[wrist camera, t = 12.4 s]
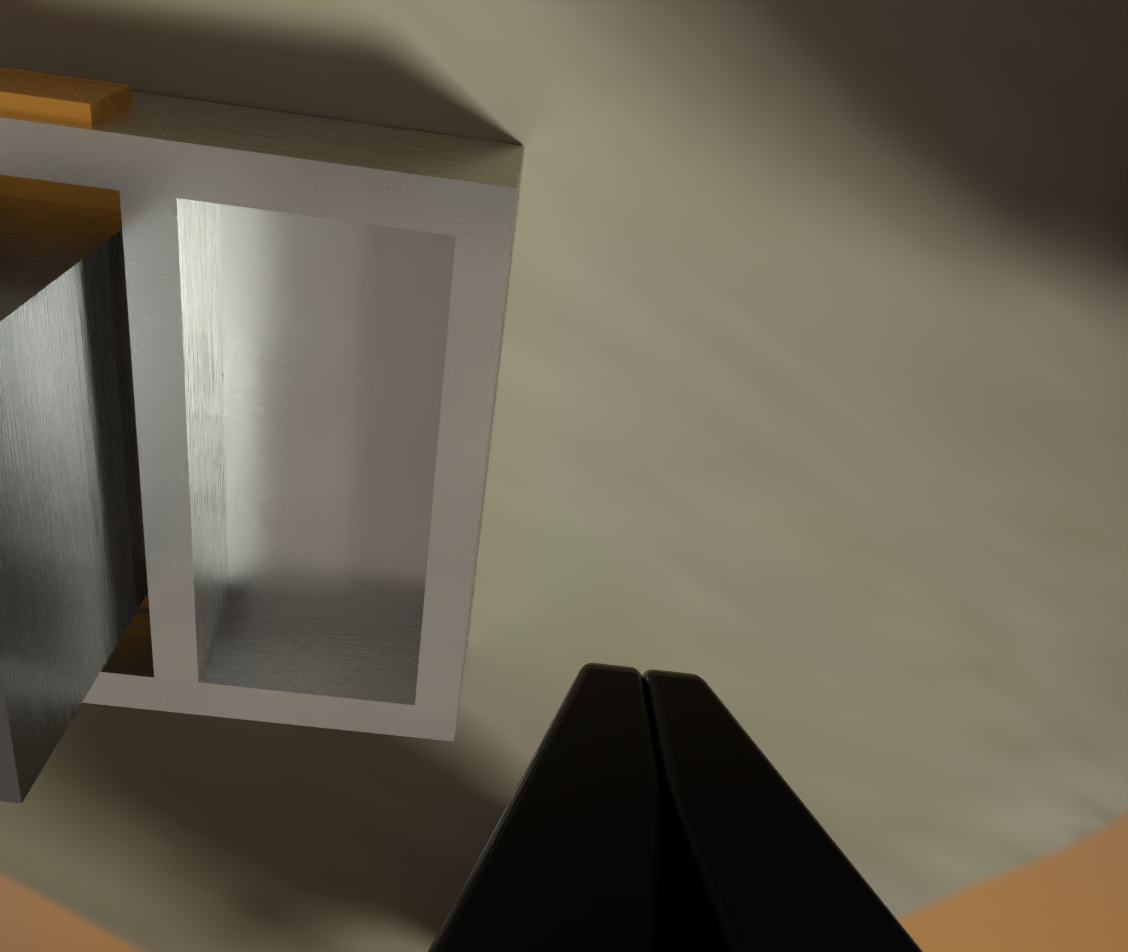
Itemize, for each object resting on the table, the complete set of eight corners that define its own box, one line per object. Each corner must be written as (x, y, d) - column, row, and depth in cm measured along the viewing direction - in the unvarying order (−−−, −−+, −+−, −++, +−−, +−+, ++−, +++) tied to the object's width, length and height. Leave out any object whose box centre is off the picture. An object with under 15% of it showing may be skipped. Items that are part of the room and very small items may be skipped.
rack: (526, 127, 17) (519, 167, 15) (466, 649, 22) (454, 741, 20) (-448, -10, 16) (-629, 7, 14) (-272, 567, 22) (-379, 654, 19)
